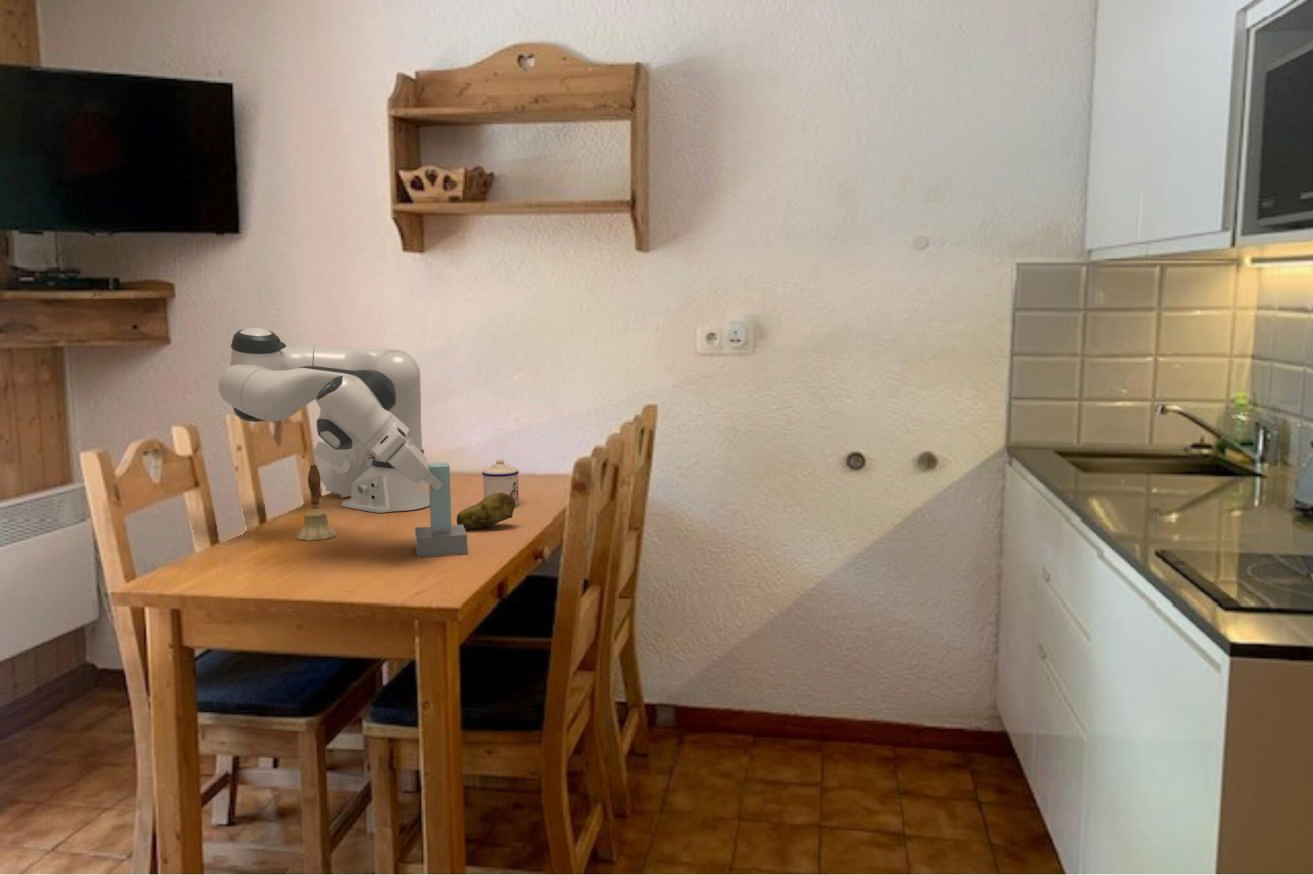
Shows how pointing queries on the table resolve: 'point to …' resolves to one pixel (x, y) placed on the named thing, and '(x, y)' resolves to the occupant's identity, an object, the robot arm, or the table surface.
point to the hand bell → (315, 513)
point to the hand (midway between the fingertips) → (439, 484)
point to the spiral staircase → (341, 466)
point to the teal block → (440, 497)
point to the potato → (487, 511)
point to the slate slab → (441, 541)
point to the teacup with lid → (501, 480)
